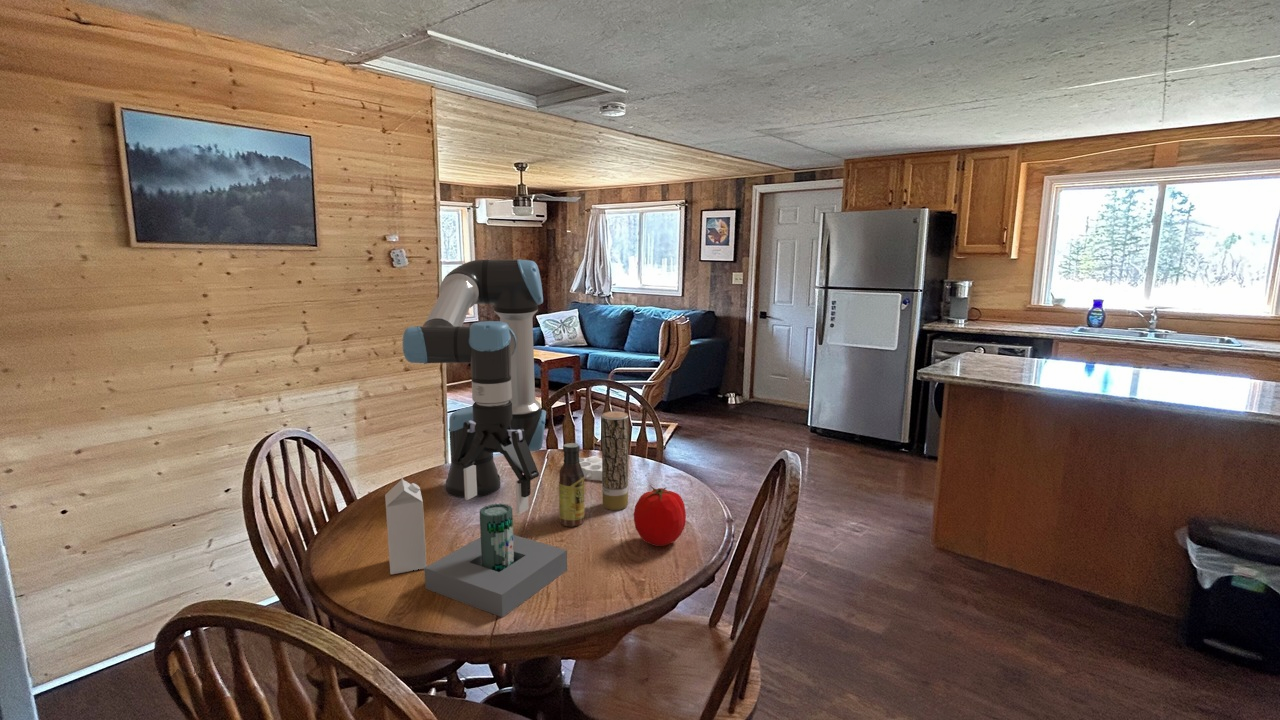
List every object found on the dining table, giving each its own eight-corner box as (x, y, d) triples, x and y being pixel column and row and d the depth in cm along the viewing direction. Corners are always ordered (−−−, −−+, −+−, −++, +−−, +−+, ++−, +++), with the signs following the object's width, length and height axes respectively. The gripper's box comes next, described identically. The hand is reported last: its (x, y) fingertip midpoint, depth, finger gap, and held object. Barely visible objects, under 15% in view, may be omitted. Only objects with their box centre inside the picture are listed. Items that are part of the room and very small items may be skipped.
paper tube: (613, 513, 158) (613, 419, 154) (597, 505, 163) (596, 414, 159) (633, 506, 163) (633, 415, 158) (617, 499, 168) (617, 410, 164)
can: (503, 589, 122) (501, 517, 119) (477, 583, 124) (474, 513, 121) (519, 574, 127) (517, 506, 125) (493, 569, 129) (491, 502, 127)
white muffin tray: (632, 473, 189) (602, 487, 178) (589, 461, 200) (557, 474, 188) (632, 463, 189) (602, 476, 177) (589, 452, 199) (557, 463, 188)
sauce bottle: (580, 529, 149) (579, 450, 146) (555, 526, 150) (554, 448, 147) (587, 518, 155) (587, 442, 152) (564, 515, 156) (563, 440, 153)
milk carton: (390, 575, 127) (384, 488, 124) (389, 560, 133) (383, 476, 130) (426, 569, 129) (421, 483, 126) (423, 554, 136) (419, 472, 133)
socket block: (425, 588, 122) (424, 567, 121) (495, 548, 139) (494, 529, 138) (502, 617, 112) (501, 594, 111) (567, 570, 129) (566, 550, 128)
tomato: (693, 550, 138) (694, 494, 136) (641, 557, 135) (641, 500, 133) (676, 529, 149) (676, 477, 147) (627, 535, 146) (627, 482, 144)
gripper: (431, 397, 122) (437, 497, 126) (530, 414, 110) (533, 525, 114) (459, 390, 129) (464, 485, 132) (555, 405, 117) (557, 510, 120)
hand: (496, 504), depth 123 cm, fingers open, 13 cm apart
